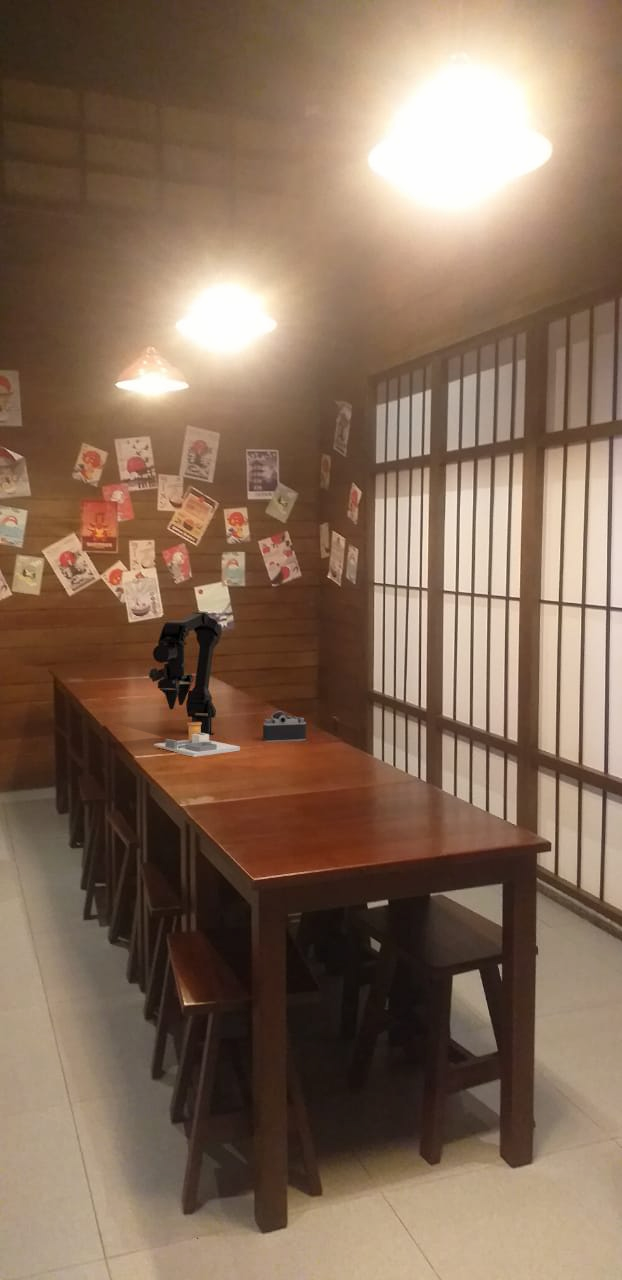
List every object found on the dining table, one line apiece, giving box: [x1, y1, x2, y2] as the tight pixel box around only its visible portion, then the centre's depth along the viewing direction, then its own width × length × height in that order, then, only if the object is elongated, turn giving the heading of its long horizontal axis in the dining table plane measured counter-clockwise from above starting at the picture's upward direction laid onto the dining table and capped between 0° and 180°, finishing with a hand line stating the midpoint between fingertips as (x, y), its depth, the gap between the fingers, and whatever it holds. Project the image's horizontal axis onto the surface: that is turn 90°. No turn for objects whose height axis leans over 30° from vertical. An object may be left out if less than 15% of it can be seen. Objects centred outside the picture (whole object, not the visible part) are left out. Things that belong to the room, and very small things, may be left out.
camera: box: [261, 710, 307, 743], centre depth 336 cm, size 16×8×10 cm, turn 105°
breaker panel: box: [153, 738, 241, 758], centre depth 316 cm, size 18×22×4 cm
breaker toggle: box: [192, 733, 210, 743], centre depth 320 cm, size 4×4×3 cm
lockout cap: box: [187, 721, 202, 741], centre depth 325 cm, size 5×5×6 cm
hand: (176, 707), depth 322 cm, fingers open, 9 cm apart
